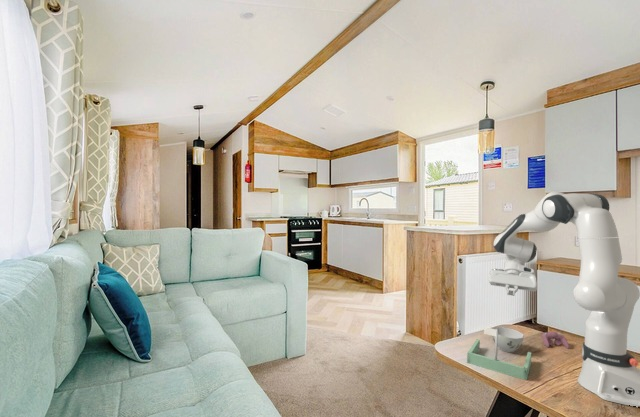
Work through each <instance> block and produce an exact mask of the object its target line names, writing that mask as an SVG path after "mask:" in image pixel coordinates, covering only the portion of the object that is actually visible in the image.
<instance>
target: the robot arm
mask: <svg viewBox="0 0 640 417" xmlns="http://www.w3.org/2000/svg"><path fill="white" fill-rule="evenodd" d="M560 223H561V224H564V225H567V224H568V223H572V224H574V225H575V227H576V230H577V231H576V232H577V240H578V247H579V253H580V256H579V257H580V269H579V275H578V281H577V283H576V285H575V286H574V288H573V292H572V294H573V298H574V300H575V302H576V304H577V305H578V306H580V307H581V308H583V309H585V311H586V310H587V311H590V314H589V315H588V317H587V319H586V320H585V322H584V325H585V326H584V342H583V343H582V348H581V350H582V352H581V353H582V354H581V356H582V365H581V370H580V373H579V374H578V375H579V376H578V377H577V383H578V384H579V385H580V386H581V387H582V388H585V389H586V390H587V391H589V392H590V393H591V392H592V393H593V394H594V395H596V396H598V397H600V398H601V399H602V400H604V401H606V402H607V401H608V402H612V403H615V404H616V403H617V404H621V405H625V406H629V405H630V406H631V407H633V406H636V407H635V408H638V406H640V369H639V368H638V366H639V362H638V360H637V359H636V358H635V356H633V354H632V353H631V352H628V351H627V347H628V346H627V344H628V330H629V326H630V322H631V319H632V316H633V312H634V308H635V306H636V303H637V302H638V300H639V299H640V288H639V287H638V286H637V284H636V283H634V282H633V281H632V280H630V279H627V278H624V277H620V276H619V270H620V266H621V263H622V262H623V257H622V256H623V254H622V250H621V245H620V238H619V234H618V233H619V232H618V229H617V226H616V222H615V220H614V218H613V216H612V214H611V212H610V203H609V201H608V199H607V198H606V197H605V196H604V195H601V194H599V193H592V192H591V193H575V192H574V193H573V192H572V193H570V192H569V193H563V192H561V191H551V192H548V193H547V194H546V195H544V196H543V197H542V198H541V199H540V201H538V203H537V204H536V205H535V207H534V208H533V209H532V210H530V211H528V212H526V213H523V214H519V215H518V216H517V217H516V218H515V219H514V220H513V221H512V222H511V223H509V225H507V227H505V229H504V230H503V231H502V232H500V233H499V234H497V235H496V237H495V238H494V240H493V244H492V245H493V248H494V250H495V251H496V252H497V253H498V254H499V253H501V254H505V263H504V267H503V269H502V268H500V269H499V268H492V269H491V270H490V271H489V277H488V283H489V285H490V286H494V287H500V288H501V287H503V288H505V290H506V291H507V292H506V294H507V296H514V297H515V294H516V293H517V292H518V291H519V290H522V291H527V292H528V291H529V292H536V291H537V290H538V283H537V276H536V273H535V269H533V268H531V267H527V266H525V264H526V263H530V262H532V261H534V259H535V258H536V256H537V252H538V251H537V250H538V248H537V245H536V244H535V242H533V241H531V240H527V239H523V238H521V237H518V236H516V235H517V234H518V233H519V232H522V231H523V232H525V231H531V232H540V233H543V232H549V231H553V230H554V229H555V228H557V227H558V226H559V224H560ZM511 289H513V290H511ZM630 406H629V407H630Z"/></svg>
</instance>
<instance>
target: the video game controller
mask: <svg viewBox="0 0 640 417" xmlns="http://www.w3.org/2000/svg"><path fill="white" fill-rule="evenodd" d="M540 337H541V340H542V341H543V344H544V346H545V347H546V348H550V346H553V345H555V346H561V344H563V346H564V347H565V348H566V349H569V348H570V345H569V344H570V343H569V342H568V340H567V339H566V337H565V336H564V335H563V334H562V333H560V332H556V331H546V332H544V333H541V336H540Z"/></svg>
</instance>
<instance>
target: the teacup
mask: <svg viewBox="0 0 640 417" xmlns="http://www.w3.org/2000/svg"><path fill="white" fill-rule="evenodd" d="M490 328H491V327H490ZM491 329H498V350H500V351H502V352H506V353H515V351H517V350H518V349H519V348H520V347H521V346H522V344H523V341H524V337H525V336H524V334H523V333H522V332H520V331H519V330H516V329H512V328H507V327H503V326H496V327H492V328H491ZM491 337H492V341H493V343H495V338H496V336H491Z"/></svg>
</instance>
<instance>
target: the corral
mask: <svg viewBox="0 0 640 417" xmlns="http://www.w3.org/2000/svg"><path fill="white" fill-rule="evenodd" d="M483 328H484V329H483V334H484V335H488V336H491V337H492V336H496V338H495V342H494V345H495V346H494V347H495V348H494V350H495V351H494V358H492V357H488V356H485V355H481V354H478V352H479V350H480V347H481V346H480V344H481V339H478V338H477V339H475V341H474V343H472V345H471V347H470V348H469V350H468V351H467V354H466V355H467V356H466V357H467V358H466V363H467V364H470V365H474V366H477V367H481V368H484V369H486V370H491V371H494V372H497V373H501V374H504V375H508V376H511V377H514V378H517V379H520V380H524V381H527V380H528V378H529V373H530V368H531V365H532V352H530V351H527V353H526V357H525V362H524V365H523V366H521V365H518V364H517V365H516V364H514V363H510V362H507V361H502V360H499V359H498V350H499V347H498V329H491V327H486V326H484V327H483Z"/></svg>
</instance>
